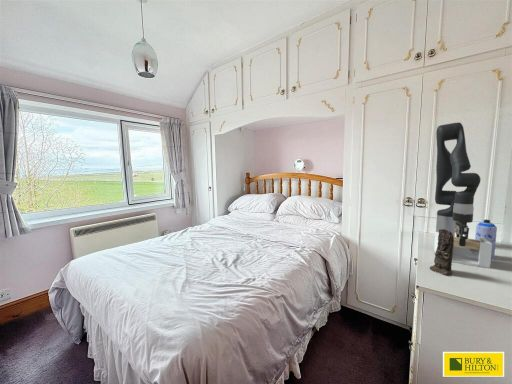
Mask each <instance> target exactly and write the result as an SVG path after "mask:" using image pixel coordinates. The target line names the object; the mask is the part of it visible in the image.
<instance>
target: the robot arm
mask: <svg viewBox="0 0 512 384" xmlns="http://www.w3.org/2000/svg"><path fill="white" fill-rule="evenodd" d="M435 134H436V167H435V168H436V169H435V170H436V180H435V181H436V182H435V185H436V186H435V194H434V202H435V204H436V205H443V206H449V207H447V208H444V209H443V208H441V209H439V210H437V211H436V226H435V232H439V229H446V230H448V231H450V232H451V233H452V235H453V237H455V236H456V237H458V238H460V239H459V245H460V246H465V244H466V239H469V233H470V232H469V231H470V228H469V226H468V223H469V224H471V223H473V221H474V220H473V219H474V210H475V209H474V201H475V195H476V192H477V190H478V188H479V186H480V184H481V176H480V175H479V174H478V173H477V172H466V171H469V170H470V169H471V163H470V159H469V156H468V152H467V144H466V137H465V129H464V126H463V124H462V122H453V123H446V124H445V123H444V124H441V125H438V126H437V128H436V133H435ZM454 140H456V144H455V146H454V148H453V150H452V151H451V152H450V151H449V150H448V148H447V147H446V144H445V142H447V141H454ZM449 181H451V184H452V185H453V186H454V187H455V188H457V187H458V188H465V189H464V190H460V191H456V190H443V189H444V186H445V185H446V184H447V183H448V182H449Z"/></svg>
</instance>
